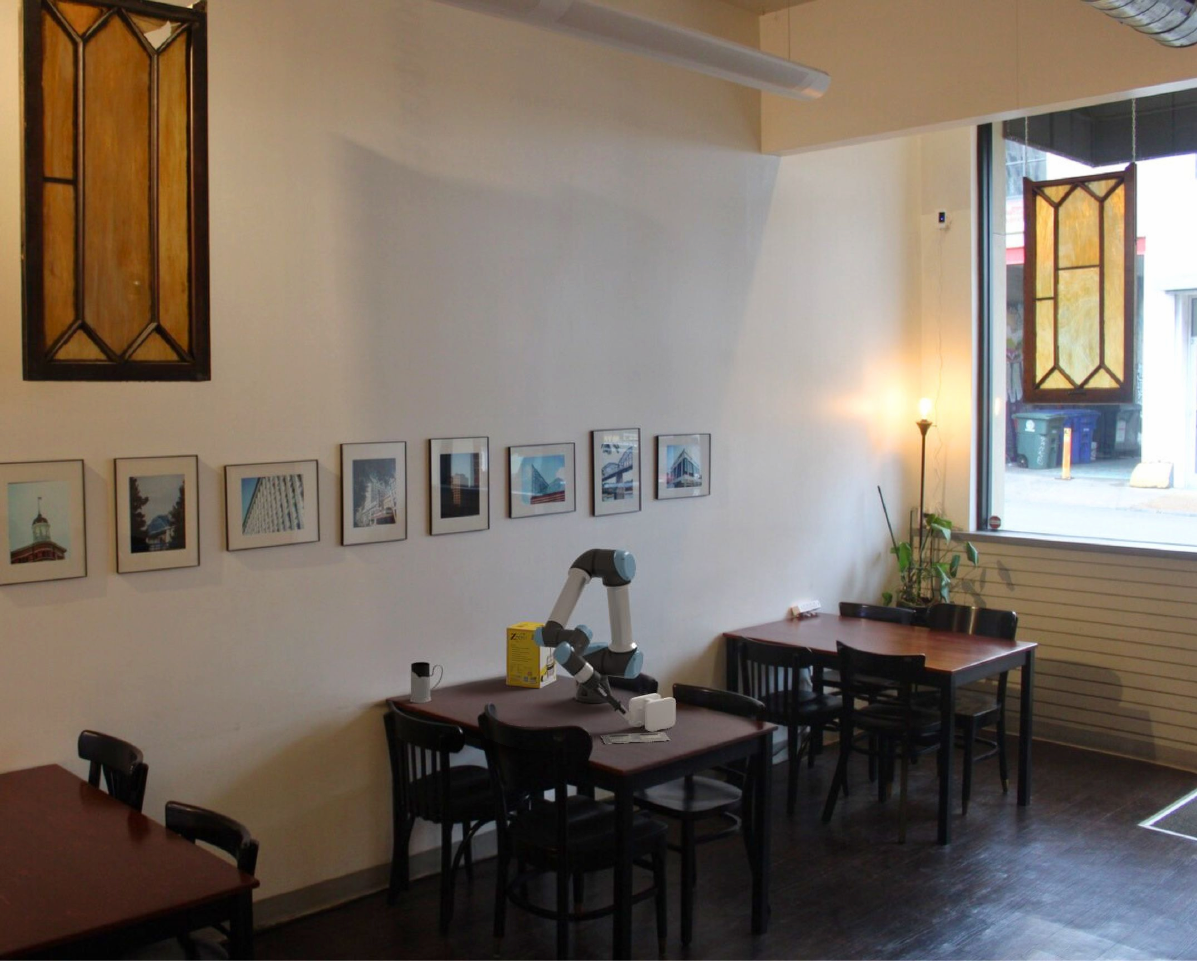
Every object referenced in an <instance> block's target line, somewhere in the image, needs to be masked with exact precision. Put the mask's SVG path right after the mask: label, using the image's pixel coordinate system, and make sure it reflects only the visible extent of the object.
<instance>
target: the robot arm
mask: <svg viewBox="0 0 1197 961" xmlns="http://www.w3.org/2000/svg"><path fill="white" fill-rule="evenodd" d="M636 570H637V564H636V560H635V558H634V556H633V554H632V553H631V551H630V552H629V551H628V550H622V549H610V548H609V549H607V548H596V547H595V548H591V549H588V550H586V551H585V552H583V553H581V554H580V555H579V556H578V557H577V558H575V560H574V561H573V563H572V564H571V566H570V567H569V569H568V572H567V576H568V577H567V579H566V581H565V583H564V585H563V588H562V589H561V591H560V594H559V596H558V598H557V600H556V602H555V604H554V606H553V608H552V611H551V613H550V614H549V617H547V621H546V622H545V623H546V624H545V626H544V627H543V626H542V627H538V628H536V630H535V632H534V641H535V643H536V645H538V646H542V647H550V648H556V649H555V650H554V651H553V657H554V659H555V660H556V663H558V665H560V667H562V668H563V669H564V670H565V671H566V672H568V674H570V676H571V677H572V680H573V681H577V683H578V685H577V688H576V691H575V694H574V695H575V696H574V697H575V700H576V701H577V700H578V702H581V703H585V702H586V703H587V704H601V703H603V704H604V703H608V704H609V705H611V707H613V709H614V710H613V711H614V712H616V711H617V712H618V713H619V714H620V715H621V716H622V717H623V718H624V719H625V720H626V721H627V722H629V720H630V719H631V718H632V717H633V716H632V715H631V714H630V712H629V710H628V709H627V708H625V707H624V705H623V704H621V703H622V701H621V700H619V701H618V700H617V699H616V698H615V697H614V696H613V692H612V689H611V687H610V686H611V685H610V683H609V678H608V677H613V678H614V677H615V678H616V677H617V678H621V679H622V678H623V679H636V678H637V677H638V676H639V675H640V673H641V671H642V668H643V664H644V653H643V651H642V650H640V649H638V646H637V642H636V641H634V640H633V629H632V617H631V608H630V607H631V606H630V605H631V604H630V595H629V585H630V584H631V583H632V580H633V579H634V578H635V576H636ZM594 578H597V579H601V582H602V585H603V587H605V588H606V595H607V597H606V598H607V607H608V617H609V618H608V619H609V627H610V628H609V629H610V640H611V642H610V643H608V642H606V641H595V642H591V641H592V639H593V636H594V634H593V631H592V629H591V628H590V627H589V626H588V625H586V624H578V625H576V626H575V627H574V629H569V628H568V629H567V628H566V627H567V625H568V623H569V620H570V619H571V618H572V617H571V616H572V615H573V612H574V610H575V608H576V606H577V604H578V602H579V599H580V597H581V596H582V593H583V591H584V589H585V587H586V585H588V584H590V582H591V580H592V579H594ZM586 703H585V704H586Z"/></svg>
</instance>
